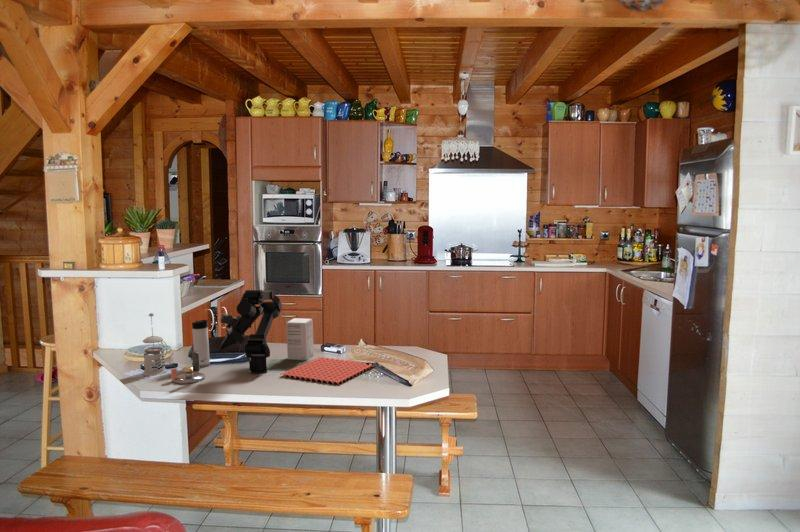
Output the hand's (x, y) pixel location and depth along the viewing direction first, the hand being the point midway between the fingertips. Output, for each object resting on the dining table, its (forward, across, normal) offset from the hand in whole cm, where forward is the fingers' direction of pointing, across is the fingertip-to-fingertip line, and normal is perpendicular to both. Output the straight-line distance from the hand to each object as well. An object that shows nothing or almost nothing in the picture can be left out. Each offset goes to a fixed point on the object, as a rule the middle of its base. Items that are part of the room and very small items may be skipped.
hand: (220, 348), depth 240 cm
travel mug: (+13, -23, +4) cm, 27 cm away
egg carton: (-20, +9, +38) cm, 44 cm away
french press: (+26, -22, -9) cm, 35 cm away
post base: (+17, -4, 0) cm, 18 cm away
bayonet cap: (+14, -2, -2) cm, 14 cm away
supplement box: (-16, -19, +34) cm, 42 cm away
